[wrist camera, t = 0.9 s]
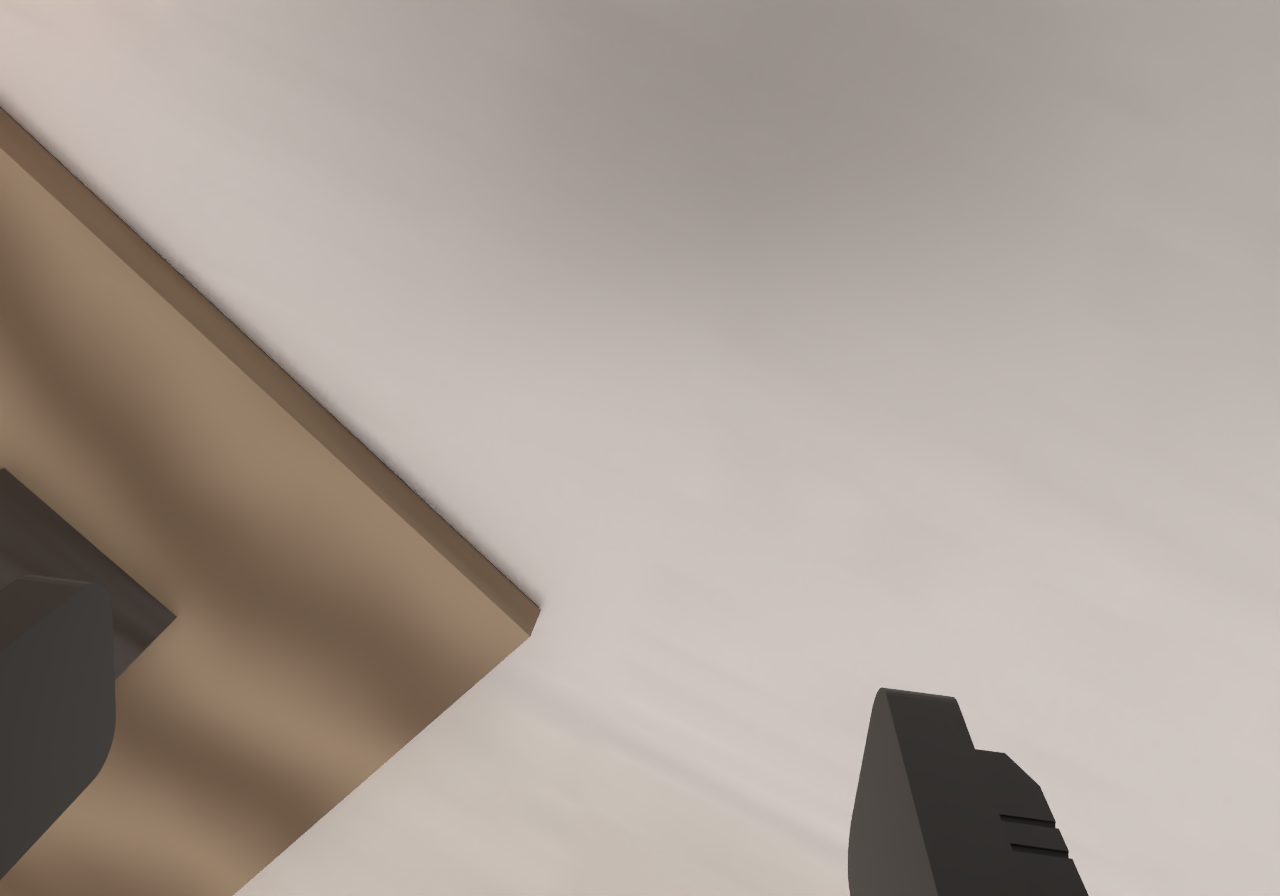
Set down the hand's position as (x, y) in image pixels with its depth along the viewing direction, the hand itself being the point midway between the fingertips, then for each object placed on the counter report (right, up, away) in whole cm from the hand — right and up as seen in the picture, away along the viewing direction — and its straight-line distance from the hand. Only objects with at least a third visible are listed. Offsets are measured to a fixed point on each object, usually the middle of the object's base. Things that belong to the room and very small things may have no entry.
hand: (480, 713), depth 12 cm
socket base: (-15, -1, +22) cm, 27 cm away
